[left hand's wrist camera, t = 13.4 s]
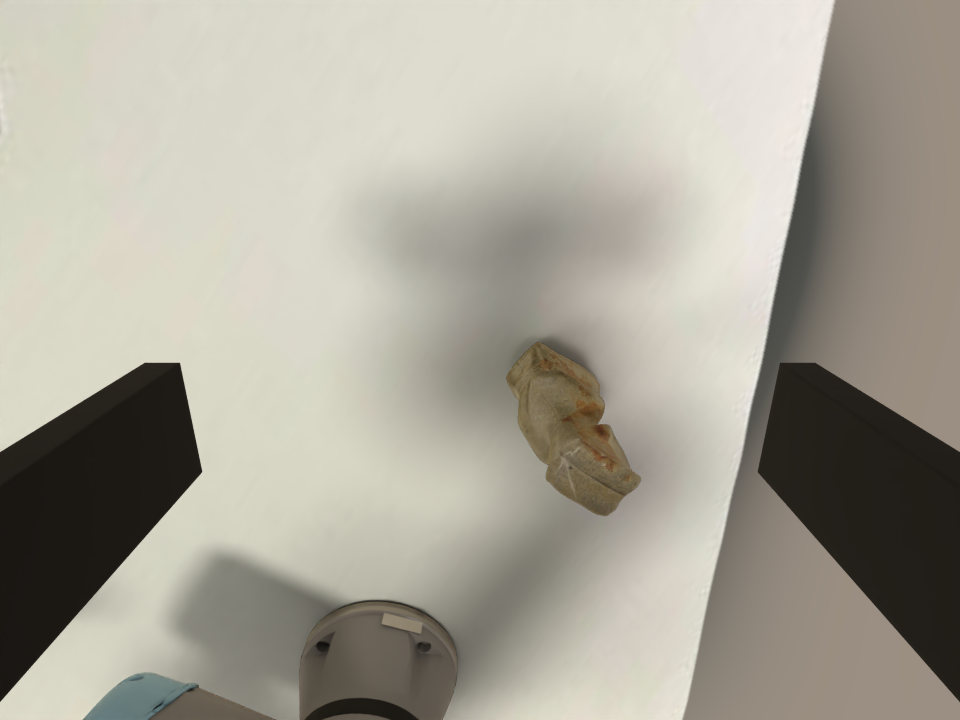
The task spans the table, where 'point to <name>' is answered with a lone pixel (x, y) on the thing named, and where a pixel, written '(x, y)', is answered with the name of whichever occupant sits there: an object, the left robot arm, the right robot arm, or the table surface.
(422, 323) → the table surface
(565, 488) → the sculpture
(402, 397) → the table surface
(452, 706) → the table surface
